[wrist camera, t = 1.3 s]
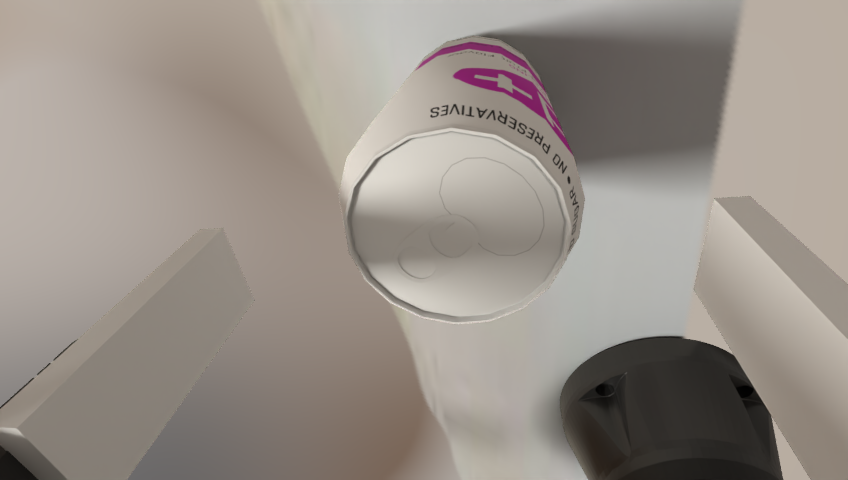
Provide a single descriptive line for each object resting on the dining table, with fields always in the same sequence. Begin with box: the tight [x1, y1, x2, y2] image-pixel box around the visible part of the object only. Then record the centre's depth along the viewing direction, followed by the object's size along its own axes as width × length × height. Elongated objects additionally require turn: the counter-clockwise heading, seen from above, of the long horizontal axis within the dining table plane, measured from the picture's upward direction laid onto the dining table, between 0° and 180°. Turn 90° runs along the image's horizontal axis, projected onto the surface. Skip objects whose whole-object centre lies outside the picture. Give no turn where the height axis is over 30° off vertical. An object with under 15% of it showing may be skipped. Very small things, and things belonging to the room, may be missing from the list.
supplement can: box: [339, 36, 585, 324], centre depth 20 cm, size 8×8×15 cm
